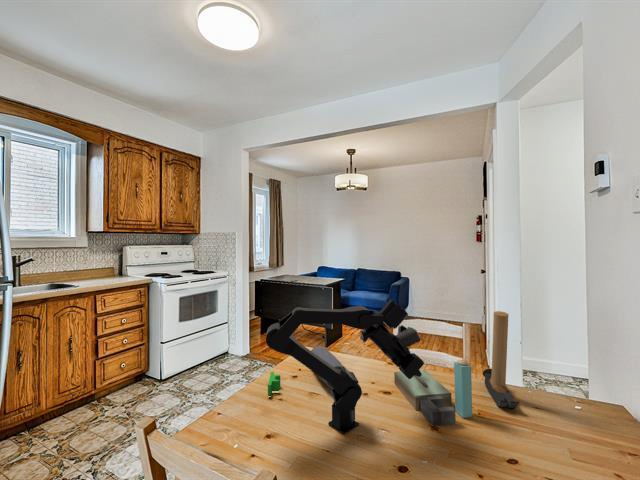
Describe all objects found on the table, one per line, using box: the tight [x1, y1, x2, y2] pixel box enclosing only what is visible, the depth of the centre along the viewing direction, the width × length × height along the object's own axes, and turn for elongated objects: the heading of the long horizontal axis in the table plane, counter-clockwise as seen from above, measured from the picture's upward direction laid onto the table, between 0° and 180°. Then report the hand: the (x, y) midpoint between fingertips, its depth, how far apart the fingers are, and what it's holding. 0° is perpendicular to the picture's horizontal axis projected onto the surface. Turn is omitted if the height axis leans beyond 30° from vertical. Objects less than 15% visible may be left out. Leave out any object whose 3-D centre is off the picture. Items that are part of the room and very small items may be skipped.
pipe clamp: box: [267, 371, 281, 397], centre depth 109 cm, size 11×4×5 cm, turn 4°
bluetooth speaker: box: [310, 345, 344, 390], centre depth 117 cm, size 23×9×10 cm, turn 17°
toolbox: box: [394, 369, 457, 427], centre depth 100 cm, size 12×27×6 cm, turn 7°
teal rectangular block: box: [453, 359, 473, 419], centre depth 92 cm, size 3×4×16 cm
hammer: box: [482, 310, 520, 409], centre depth 100 cm, size 20×5×30 cm, turn 166°
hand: (420, 375), depth 91 cm, fingers closed
